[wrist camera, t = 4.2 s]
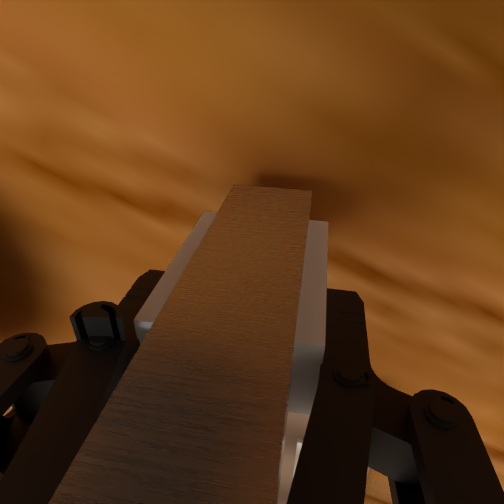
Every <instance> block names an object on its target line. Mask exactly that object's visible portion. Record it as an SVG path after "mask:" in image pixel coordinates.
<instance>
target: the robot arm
mask: <svg viewBox="0 0 504 504" xmlns="http://www.w3.org/2000/svg"><path fill="white" fill-rule="evenodd" d="M217 213H218V212H211V211H204V213H203V214H202V216H201V217H200V219H199V220H198V222H197V223H196V225H195V227H194V228H193V230H192V231H191V233H190V234H189V236H188V237H187V239H186V240H185V242H184V243H183V245H182V246H181V248H180V250H179V251H178V253H177V254H176V256H175V257H174V259H173V260H172V262H171V263H170V265H169V266H168V268H167V269H166V271H159V270H149V271H147V272H146V273H144V274H143V275H141V276H140V277H139V278H138V279H137V280H136V282H135V283H134V284H133V286H132V287H131V289H130V290H129V291H128V292H127V294H126V296H125V297H124V298H123V299H122V301H121V302H120V303H119V305H116V304H114V303H112V302H106V301H100V302H93V303H90V304H87V305H84V306H82V307H80V308H79V309H77V310H76V311H75V312H74V313H73V314H72V315H71V316H70V320H71V323H72V326H73V330H74V333H75V336H76V339H77V341H76V342H71V343H63V344H54V345H47V343H46V341H45V339H44V337H43V336H42V335H39V334H37V333H23V334H18V335H15V336H13V337H11V338H8V339H6V340H5V341H3V342H2V343H0V504H48V503H49V501H50V500H51V498H52V496H53V494H54V493H55V491H56V489H57V488H58V486H59V484H60V482H61V481H62V479H63V477H64V476H65V474H66V472H67V470H68V469H69V467H70V465H71V464H72V462H73V460H74V458H75V457H76V455H77V453H78V452H79V450H80V448H81V446H82V445H83V443H84V441H85V439H86V438H87V436H88V434H89V433H90V431H91V429H92V427H93V426H94V424H95V422H96V421H97V419H98V417H99V415H100V414H101V412H102V410H103V409H104V407H105V405H106V403H107V402H108V400H109V398H110V397H111V395H112V393H113V391H114V390H115V388H116V386H117V384H118V383H119V381H120V379H121V378H122V376H123V374H124V372H125V371H126V369H127V367H128V366H129V364H130V362H131V360H132V359H133V357H134V355H135V354H136V352H137V350H138V348H139V347H140V345H141V343H142V342H143V340H144V338H145V336H146V335H147V333H148V331H149V329H150V328H151V326H152V324H153V323H154V321H155V319H156V317H157V316H158V314H159V312H160V311H161V309H162V307H163V305H164V304H165V302H166V300H167V299H168V297H169V295H170V293H171V292H172V290H173V288H174V287H175V285H176V283H177V281H178V280H179V278H180V276H181V274H182V273H183V271H184V269H185V268H186V266H187V264H188V262H189V261H190V259H191V257H192V256H193V254H194V252H195V250H196V249H197V247H198V245H199V244H200V242H201V240H202V238H203V237H204V235H205V233H206V232H207V230H208V228H209V226H210V225H211V223H212V221H213V219H214V218H215V216H216V214H217ZM327 256H328V222H326V221H315V220H309V223H308V232H307V240H306V249H305V257H304V266H303V274H302V283H301V291H300V300H299V308H298V317H297V325H296V334H295V342H294V353H293V364H292V375H291V386H290V397H289V408H288V412H292V413H298V414H304V415H310V417H309V420H308V424H307V428H306V432H305V435H304V439H303V443H302V447H301V450H300V454H299V458H298V462H297V466H296V469H295V473H294V477H293V481H292V484H291V488H290V492H289V496H288V499H287V503H286V504H364V498H365V489H366V479H367V470H368V467H370V468H372V469H374V470H376V471H378V472H380V473H382V474H383V475H385V476H387V477H388V480H389V486H390V491H391V497H392V502H393V504H504V491H503V489H502V487H501V484H500V482H499V479H498V477H497V475H496V472H495V470H494V468H493V465H492V463H491V460H490V458H489V456H488V453H487V451H486V449H485V446H484V444H483V441H482V439H481V437H480V434H479V432H478V430H477V427H476V425H475V422H474V420H473V418H472V416H471V414H470V413H469V411H468V410H467V408H466V407H465V406H464V405H463V404H462V403H461V402H459V401H458V400H457V399H456V398H454V397H452V396H451V395H449V394H447V393H445V392H441V391H437V390H433V389H432V390H422V391H420V392H418V393H416V394H414V396H410V395H408V394H405V393H403V392H401V391H398V390H396V389H394V388H392V387H390V386H388V385H387V384H385V383H384V382H383V381H381V380H380V379H379V378H378V377H377V376H376V374H375V373H374V371H373V370H372V368H371V364H370V359H369V349H368V340H367V330H366V320H365V311H364V302H363V301H362V300H361V298H360V297H359V295H358V294H357V292H354V291H345V290H337V289H328V288H327ZM11 405H12V407H13V409H12V410H11V411H10V412H9V413H8V414H6V415H5V416H3V414H4V413H5V412H6V411H7V410H8V409H9V408H10V406H11Z"/></svg>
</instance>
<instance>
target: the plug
mask: <svg viewBox="0 0 504 504" xmlns="http://www.w3.org/2000/svg"><path fill="white" fill-rule="evenodd" d="M311 198H312V191H311V190H298V189H285V188H271V187H258V186H245V185H233V187H232V189H231V190H230V192H229V194H228V195H227V197H226V199H225V201H224V202H223V204H222V206H221V207H220V209H219V211H218V213H217V214H216V216H215V218H214V219H213V221H212V223H211V225H210V226H209V228H208V230H207V232H206V233H205V235H204V237H203V238H202V240H201V242H200V244H199V245H198V247H197V249H196V250H195V252H194V254H193V256H192V257H191V259H190V261H189V262H188V264H187V266H186V268H185V269H184V271H183V273H182V274H181V276H180V278H179V280H178V281H177V283H176V285H175V287H174V288H173V290H172V292H171V293H170V295H169V297H168V299H167V300H166V302H165V304H164V305H163V307H162V309H161V311H160V312H159V314H158V316H157V317H156V319H155V321H154V323H153V324H152V326H151V328H150V329H149V331H148V333H147V335H146V336H145V338H144V340H143V342H142V343H141V345H140V347H139V348H138V350H137V352H136V354H135V355H134V357H133V359H132V360H131V362H130V364H129V366H128V367H127V369H126V371H125V372H124V374H123V376H122V378H121V379H120V381H119V383H118V384H117V386H116V388H115V390H114V391H113V393H112V395H111V397H110V398H109V400H108V402H107V403H106V405H105V407H104V409H103V410H102V412H101V414H100V415H99V417H98V419H97V421H96V422H95V424H94V426H93V427H92V429H91V431H90V433H89V434H88V436H87V438H86V439H85V441H84V443H83V445H82V446H81V448H80V450H79V452H78V453H77V455H76V457H75V458H74V460H73V462H72V464H71V465H70V467H69V469H68V470H67V472H66V474H65V476H64V477H63V479H62V481H61V482H60V484H59V486H58V488H57V489H56V491H55V493H54V494H53V496H52V498H51V500H50V501H49V503H48V504H278V499H279V490H280V481H281V472H282V463H283V455H284V446H285V437H286V428H287V419H288V408H289V397H290V386H291V375H292V364H293V353H294V342H295V334H296V325H297V317H298V308H299V300H300V291H301V283H302V274H303V266H304V257H305V249H306V240H307V232H308V223H309V219H310V208H311Z"/></svg>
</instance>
